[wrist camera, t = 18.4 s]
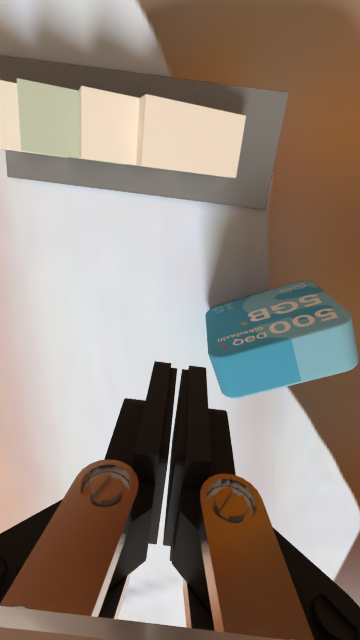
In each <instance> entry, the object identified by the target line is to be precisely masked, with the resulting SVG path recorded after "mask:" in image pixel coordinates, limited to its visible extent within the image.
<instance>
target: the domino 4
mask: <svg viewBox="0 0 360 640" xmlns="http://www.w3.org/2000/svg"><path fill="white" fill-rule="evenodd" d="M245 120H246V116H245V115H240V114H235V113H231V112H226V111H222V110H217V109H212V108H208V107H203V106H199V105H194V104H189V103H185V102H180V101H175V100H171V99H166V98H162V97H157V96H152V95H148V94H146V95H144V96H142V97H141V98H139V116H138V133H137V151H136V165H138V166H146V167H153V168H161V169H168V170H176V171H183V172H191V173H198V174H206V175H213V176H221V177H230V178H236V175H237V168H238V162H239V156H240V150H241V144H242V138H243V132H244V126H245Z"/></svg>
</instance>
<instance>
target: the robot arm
mask: <svg viewBox="0 0 360 640" xmlns="http://www.w3.org/2000/svg"><path fill="white" fill-rule="evenodd" d="M176 375H177V369H176V368H171V363H164V362H156V361H155V363H154V367H153V371H152V376H151V380H150V385H149V389H148V393H147V398H146V401H144V400H136V399H127V398H125V399H124V402H123V405H122V408H121V411H120V414H119V417H118V420H117V423H116V426H115V429H114V432H113V435H112V438H111V441H110V444H109V447H108V450H107V453H106V456H105V460H100V461H97V462H94V463H92V464H90V465H88V466H87V467H85V468H84V469H82V471H81V472H80V473H79V474H78V475H77V477H76V478H75V480H74V482H73V483H72V485H71V487H70V488H69V490H68V492H67V493H66V495H65V497H64V498H63V499H62V500H60V501H59V502H57V503H55V504H53V505H51V506H50V507H48V508H46V509H44V510H42V511H40V512H39V513H37V514H35V515H33V516H31V517H30V518H28V519H26V520H24V521H22V522H21V523H19V524H17V525H15V526H13V527H12V528H10V529H8V530H6V531H4V532H3V533H1V534H0V640H360V607H359V606H358V605H357V604H356V603H355V602H354V601H353V599H351V597H350V596H349V595H348V594H347V593H345V591H343V590H342V589H341V588H340V587H339V586H337V584H336V583H334V582H333V581H332V580H331V579H330V578H329V577H328V576H327V575H325V574H324V573H323V572H322V571H321V570H320V569H319V568H318V567H317V566H315V565H314V564H313V563H312V562H311V561H310V560H309V559H308V558H306V557H305V556H304V555H303V554H302V553H301V552H300V551H299V550H297V549H296V548H295V547H294V546H293V545H292V544H291V543H290V542H289V541H287V540H286V539H285V538H284V537H283V536H282V535H281V534H280V533H278V532H277V531H276V530H275V529H274V528H273V527H272V525H271V522H270V519H269V517H268V514H267V511H266V509H265V506H264V503H263V500H262V498H261V496H260V495H259V493H258V491H257V490H256V489H255V488H254V487H253V485H252V484H251V483H249V482H248V481H246V480H245V479H243V478H241V477H238V476H236V474H235V467H234V460H233V452H232V445H231V438H230V430H229V423H228V416H227V412H226V411H224V410H216V409H208V397H207V379H206V368H204V367H196V366H189V369H188V370H184V369H182V374H181V382H180V389H179V396H178V403H177V410H176V418H175V425H174V432H173V440H172V450H171V461H170V473H169V484H168V495H167V506H166V517H165V528H164V540H163V545H166V546H171V551H170V561H172V564H173V566H174V567H175V568H176V569H177V571H178V572H179V573H180V574H181V576H182V577H183V595H184V605H185V615H186V625H187V628H185V627H177V626H168V625H160V624H152V623H143V622H135V621H126V620H118V615H119V612H120V609H121V606H122V602H123V599H124V596H125V593H126V589H127V586H128V583H129V577H130V573H131V572H132V571H133V570H135V569H136V568H137V567H138V566H140V565H141V564H142V563H143V562H144V561H146V557H147V549H148V543H149V544H157V537H158V530H159V522H160V515H161V508H162V500H163V493H164V485H165V478H166V471H167V463H168V455H169V446H170V435H171V425H172V415H173V405H174V395H175V385H176Z"/></svg>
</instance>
